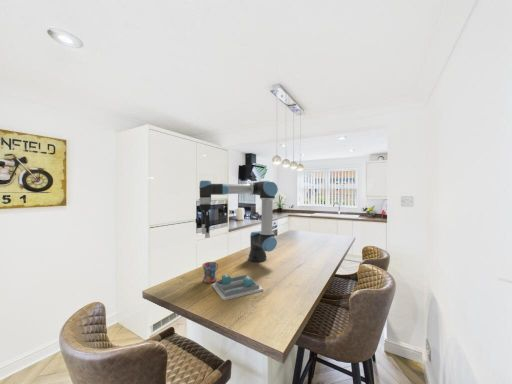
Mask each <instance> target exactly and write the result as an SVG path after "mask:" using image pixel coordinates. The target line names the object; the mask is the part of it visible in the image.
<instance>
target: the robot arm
mask: <svg viewBox="0 0 512 384" xmlns="http://www.w3.org/2000/svg"><path fill="white" fill-rule="evenodd" d="M278 191H279V189H278V185H277V184H276V183H275V182H274V181H273V180H263V181H262V180H260V181H256V182H249V183H212V181H211V180H201V181H199V199H198V200H199V210H200V211H201V221H200V222H201V234H202V235H204V238H205V239H208V238H210V228H211V222H210V221H211V220H210V212H209V211H211V210H212V196H214V195H217V196H218V195H219V196H221V195H223V196H224V195H233V194H234V195H237V194H239V195H241V194H249V195H255V196H259V199H260V200H261V219H260V220H261V224H260V225H261V226H260V227H261V228H260V231H259V230H258V231H252V232H250V235H249V237H250V251H249V253H248V260H249V261H251V262H254V263H255V262H256V263H261V262H265V261H267V254H266V252H272V251H273V250H275V249H276V248H277V245H278V242H277V239H276V237H275V233H274V231H273V212H274V211H273V207H274V206H273V205H274V200H275V199H276V198H275V197H276V195H277V194H278Z"/></svg>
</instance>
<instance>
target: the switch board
mask: <svg viewBox="0 0 512 384" xmlns="http://www.w3.org/2000/svg"><path fill="white" fill-rule="evenodd" d="M247 276H248V275H246V274H244V275H243V274H242V275H236V276H234V277H231V283H229V284H225V285H222V279H220V280H218V279H217V280H216V281H215V282H214V283H211V286H212V288H213V290H215V292H216V293H217V294H218V295H219V297H220V299H221V300H222V301H224V302H225V301H228V300H231V299H236V298H239V297H243V296H247V295H251V294H255V293H258V292H262V291H264V288H263V287H262V286H261V285H260V284H259V283H257V282H255V281H254V280H253V285H252V286H247V287H244V286H243V278H245V277H247Z"/></svg>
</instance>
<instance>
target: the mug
mask: <svg viewBox="0 0 512 384" xmlns="http://www.w3.org/2000/svg"><path fill="white" fill-rule="evenodd" d="M201 265H202V269H203V271H204V276H203V279H202V282H204V283H208V284H210V283H211V284H213V283H216V282H217V281H218V278H217V276H216V272H217V271H218V269H219V264H218V263H217V262H214V261H207V262H204V263H203V264H201Z"/></svg>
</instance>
